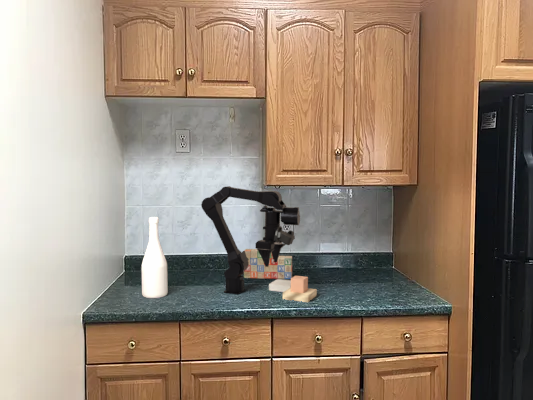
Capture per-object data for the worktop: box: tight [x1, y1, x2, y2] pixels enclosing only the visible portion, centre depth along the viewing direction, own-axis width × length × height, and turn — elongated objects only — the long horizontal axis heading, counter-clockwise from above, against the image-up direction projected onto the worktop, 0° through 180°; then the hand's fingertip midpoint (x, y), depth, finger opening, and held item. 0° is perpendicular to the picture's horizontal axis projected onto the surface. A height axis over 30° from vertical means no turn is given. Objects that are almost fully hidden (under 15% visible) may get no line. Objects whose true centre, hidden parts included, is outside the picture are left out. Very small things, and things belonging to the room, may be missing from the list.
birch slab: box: [282, 287, 318, 303], centre depth 172 cm, size 10×10×3 cm
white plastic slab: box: [268, 278, 291, 293], centre depth 184 cm, size 9×9×3 cm
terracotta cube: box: [290, 275, 309, 293], centre depth 172 cm, size 5×5×5 cm
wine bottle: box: [141, 216, 168, 299], centre depth 174 cm, size 10×10×30 cm
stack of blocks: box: [243, 248, 293, 280], centre depth 205 cm, size 21×6×12 cm, turn 83°
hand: (271, 264), depth 175 cm, fingers open, 9 cm apart
